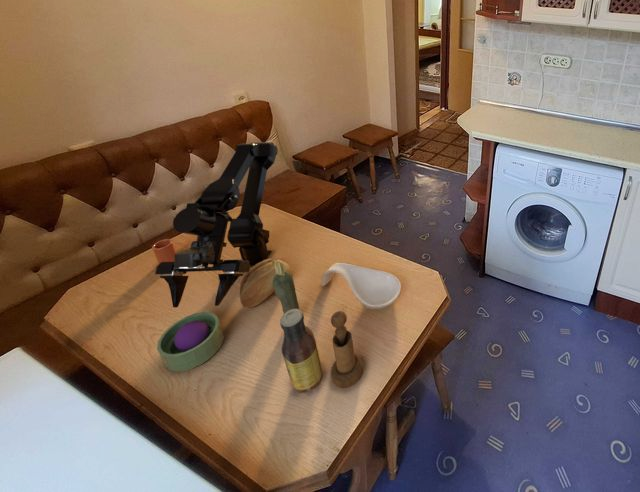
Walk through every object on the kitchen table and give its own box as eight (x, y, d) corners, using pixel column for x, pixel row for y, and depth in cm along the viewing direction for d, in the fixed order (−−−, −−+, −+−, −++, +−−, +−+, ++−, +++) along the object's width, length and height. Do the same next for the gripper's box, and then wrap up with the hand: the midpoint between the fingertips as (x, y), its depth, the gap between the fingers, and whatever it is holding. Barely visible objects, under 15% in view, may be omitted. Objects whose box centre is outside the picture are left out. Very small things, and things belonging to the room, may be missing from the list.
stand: (182, 257, 110) (175, 239, 107) (171, 268, 106) (163, 249, 103) (168, 256, 110) (160, 238, 107) (155, 267, 106) (147, 249, 103)
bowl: (234, 329, 88) (229, 313, 85) (202, 374, 77) (195, 357, 75) (189, 327, 88) (183, 311, 86) (152, 372, 78) (143, 355, 75)
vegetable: (306, 318, 91) (292, 257, 83) (293, 332, 87) (278, 270, 79) (292, 313, 92) (277, 252, 84) (279, 327, 88) (262, 265, 80)
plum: (192, 336, 86) (187, 313, 84) (218, 337, 85) (213, 314, 84) (169, 358, 79) (163, 334, 78) (197, 359, 79) (192, 335, 77)
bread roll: (230, 306, 94) (222, 284, 90) (273, 267, 107) (268, 246, 104) (260, 316, 91) (253, 293, 88) (300, 274, 104) (295, 253, 101)
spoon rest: (409, 288, 100) (408, 269, 98) (387, 322, 90) (385, 301, 87) (339, 267, 107) (336, 248, 105) (311, 296, 97) (307, 276, 94)
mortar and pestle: (354, 391, 75) (344, 331, 68) (326, 384, 76) (313, 325, 69) (368, 361, 81) (360, 304, 74) (342, 356, 82) (332, 298, 75)
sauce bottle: (298, 366, 79) (281, 301, 71) (327, 365, 80) (313, 300, 72) (287, 397, 73) (267, 330, 65) (318, 395, 74) (302, 328, 66)
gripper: (146, 235, 80) (124, 311, 75) (232, 233, 82) (217, 307, 76) (180, 240, 91) (163, 307, 85) (256, 238, 92) (244, 304, 86)
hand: (196, 306), depth 83 cm, fingers open, 9 cm apart
